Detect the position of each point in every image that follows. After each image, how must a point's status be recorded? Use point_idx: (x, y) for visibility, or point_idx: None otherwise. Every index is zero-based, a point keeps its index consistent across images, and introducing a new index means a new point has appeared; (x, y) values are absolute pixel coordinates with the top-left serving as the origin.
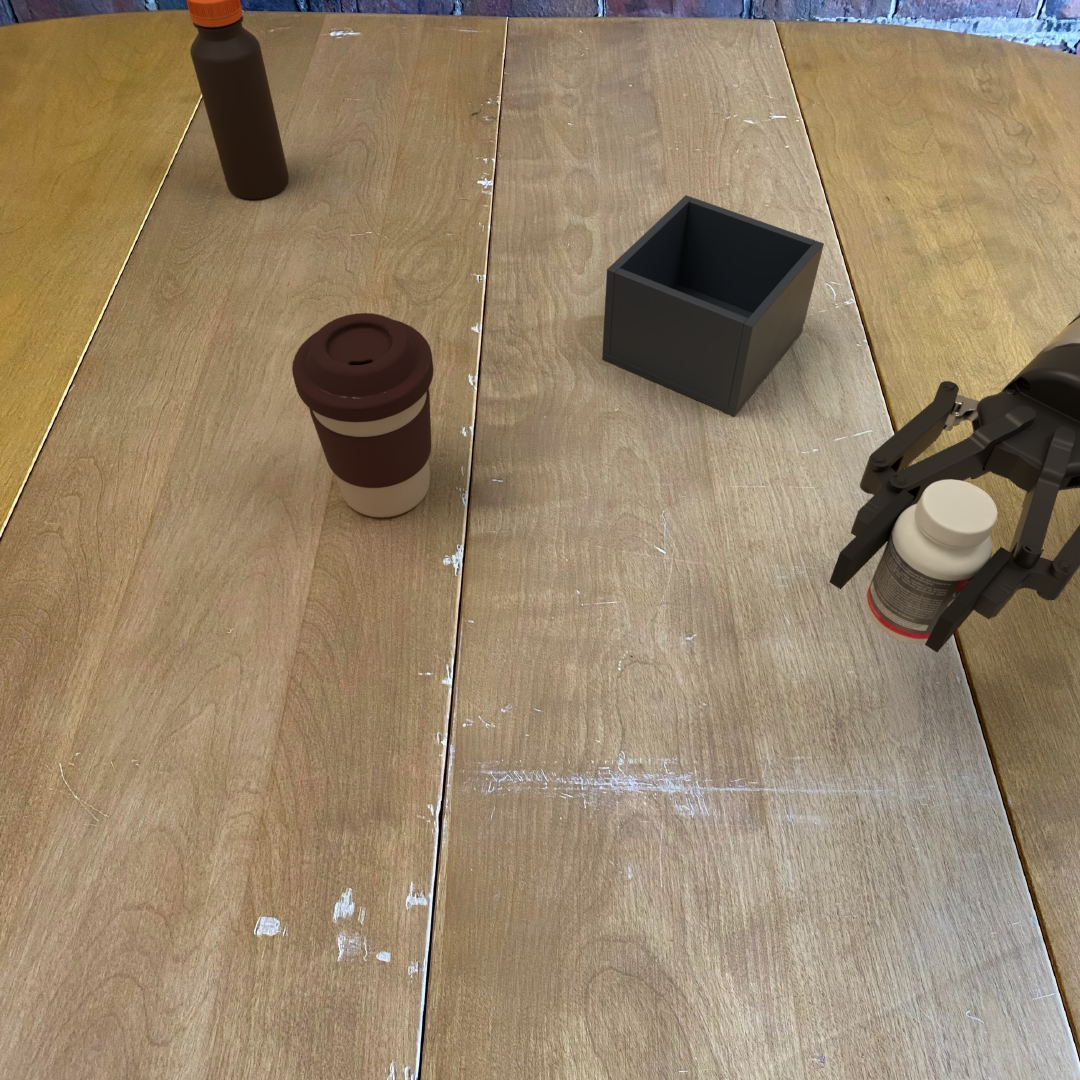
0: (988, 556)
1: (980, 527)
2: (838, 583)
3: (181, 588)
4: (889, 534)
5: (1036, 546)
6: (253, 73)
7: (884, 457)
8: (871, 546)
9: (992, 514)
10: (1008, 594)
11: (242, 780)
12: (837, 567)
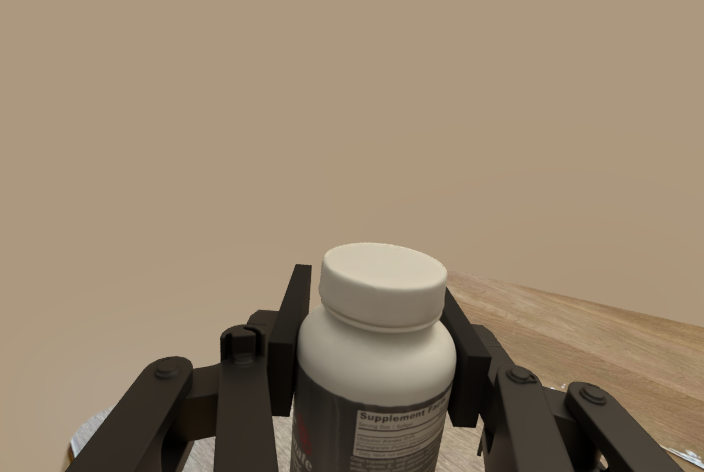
0: (301, 330)
1: (335, 249)
2: None
3: (671, 352)
4: None
5: (231, 380)
6: None
7: (592, 396)
8: None
9: (334, 263)
10: (249, 322)
11: (523, 321)
12: None
